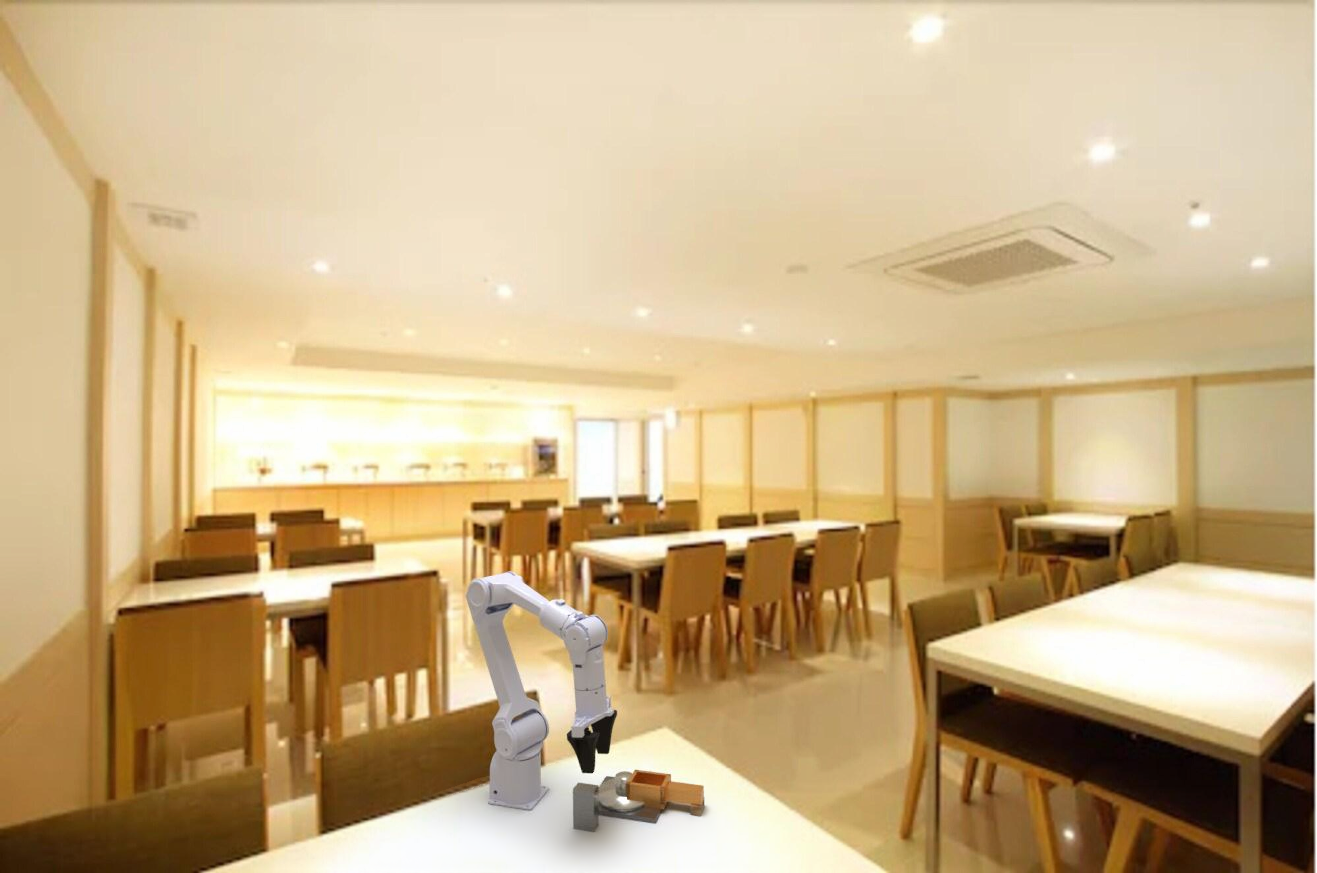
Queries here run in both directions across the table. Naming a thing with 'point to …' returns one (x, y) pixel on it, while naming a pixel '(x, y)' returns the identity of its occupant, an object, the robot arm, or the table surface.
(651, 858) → the table surface
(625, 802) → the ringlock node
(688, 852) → the table surface
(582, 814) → the brushed metal block
